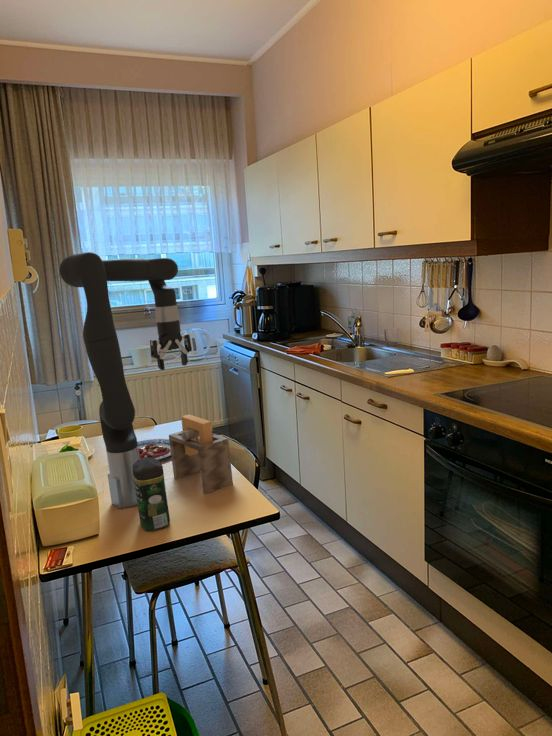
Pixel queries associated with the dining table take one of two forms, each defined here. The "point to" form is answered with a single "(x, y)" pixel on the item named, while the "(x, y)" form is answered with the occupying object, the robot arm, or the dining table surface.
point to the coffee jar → (151, 493)
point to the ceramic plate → (154, 448)
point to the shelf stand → (202, 459)
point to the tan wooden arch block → (197, 425)
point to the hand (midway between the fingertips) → (173, 367)
